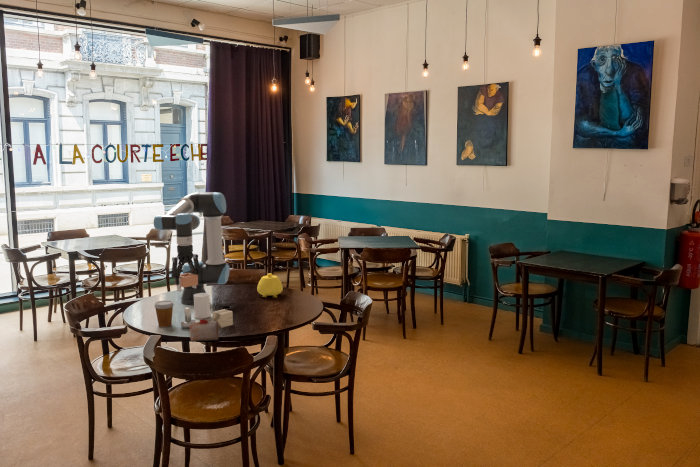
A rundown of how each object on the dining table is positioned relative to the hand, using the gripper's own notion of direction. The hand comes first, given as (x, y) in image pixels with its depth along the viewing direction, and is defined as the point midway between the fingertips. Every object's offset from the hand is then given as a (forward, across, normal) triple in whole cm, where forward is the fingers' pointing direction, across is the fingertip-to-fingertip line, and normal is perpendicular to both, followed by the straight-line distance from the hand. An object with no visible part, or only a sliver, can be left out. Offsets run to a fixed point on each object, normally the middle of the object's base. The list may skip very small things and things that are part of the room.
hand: (186, 289), depth 304 cm
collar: (-2, 0, 0) cm, 2 cm away
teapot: (+20, +72, +20) cm, 77 cm away
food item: (+20, -6, -22) cm, 30 cm away
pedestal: (+20, +14, -10) cm, 26 cm away
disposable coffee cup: (+20, -6, +12) cm, 24 cm away
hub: (+20, 0, 0) cm, 20 cm away
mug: (+20, +17, +13) cm, 29 cm away
